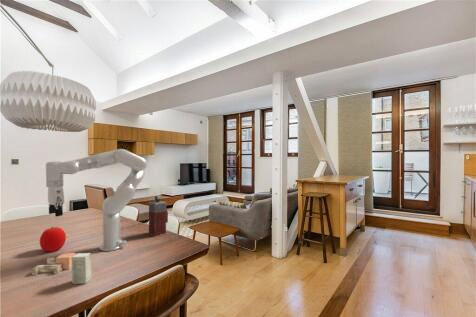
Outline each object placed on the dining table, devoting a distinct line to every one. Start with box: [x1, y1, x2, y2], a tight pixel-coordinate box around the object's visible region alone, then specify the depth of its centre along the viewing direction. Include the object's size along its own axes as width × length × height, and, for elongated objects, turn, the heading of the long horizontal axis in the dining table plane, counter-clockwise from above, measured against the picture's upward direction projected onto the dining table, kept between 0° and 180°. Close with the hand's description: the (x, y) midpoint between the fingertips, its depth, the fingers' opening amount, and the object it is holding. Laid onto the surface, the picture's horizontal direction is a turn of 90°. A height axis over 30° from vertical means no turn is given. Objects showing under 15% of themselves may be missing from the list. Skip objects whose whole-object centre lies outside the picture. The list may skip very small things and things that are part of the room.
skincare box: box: [71, 252, 92, 285], centre depth 106 cm, size 6×4×12 cm
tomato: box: [39, 226, 67, 252], centre depth 141 cm, size 13×11×14 cm
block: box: [55, 252, 76, 271], centre depth 120 cm, size 6×6×6 cm
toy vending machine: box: [148, 195, 169, 237], centre depth 172 cm, size 9×11×28 cm
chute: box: [31, 255, 63, 276], centre depth 119 cm, size 11×14×3 cm
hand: (55, 214), depth 130 cm, fingers open, 9 cm apart
